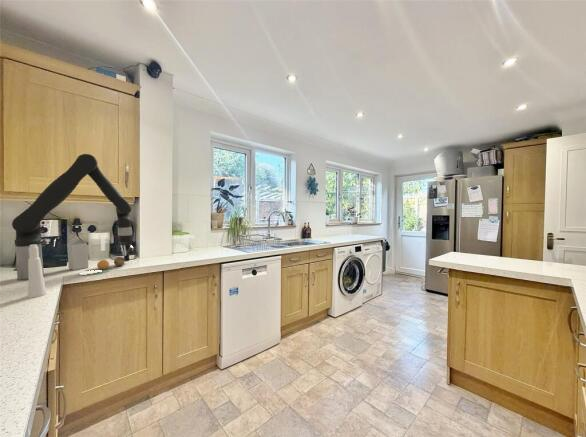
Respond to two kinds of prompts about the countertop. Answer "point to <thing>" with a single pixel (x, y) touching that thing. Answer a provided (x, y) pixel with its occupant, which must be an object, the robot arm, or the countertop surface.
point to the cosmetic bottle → (35, 274)
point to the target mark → (98, 272)
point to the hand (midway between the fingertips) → (126, 261)
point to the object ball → (103, 264)
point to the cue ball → (119, 261)
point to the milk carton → (77, 254)
